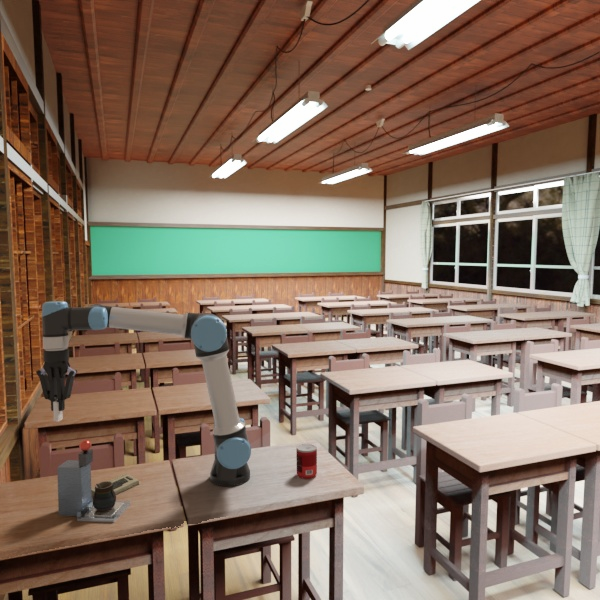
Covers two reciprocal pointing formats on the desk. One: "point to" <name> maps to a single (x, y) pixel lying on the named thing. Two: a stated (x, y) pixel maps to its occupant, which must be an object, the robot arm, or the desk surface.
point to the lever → (85, 453)
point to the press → (82, 495)
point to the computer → (121, 484)
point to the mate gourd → (104, 496)
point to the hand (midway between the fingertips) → (58, 420)
